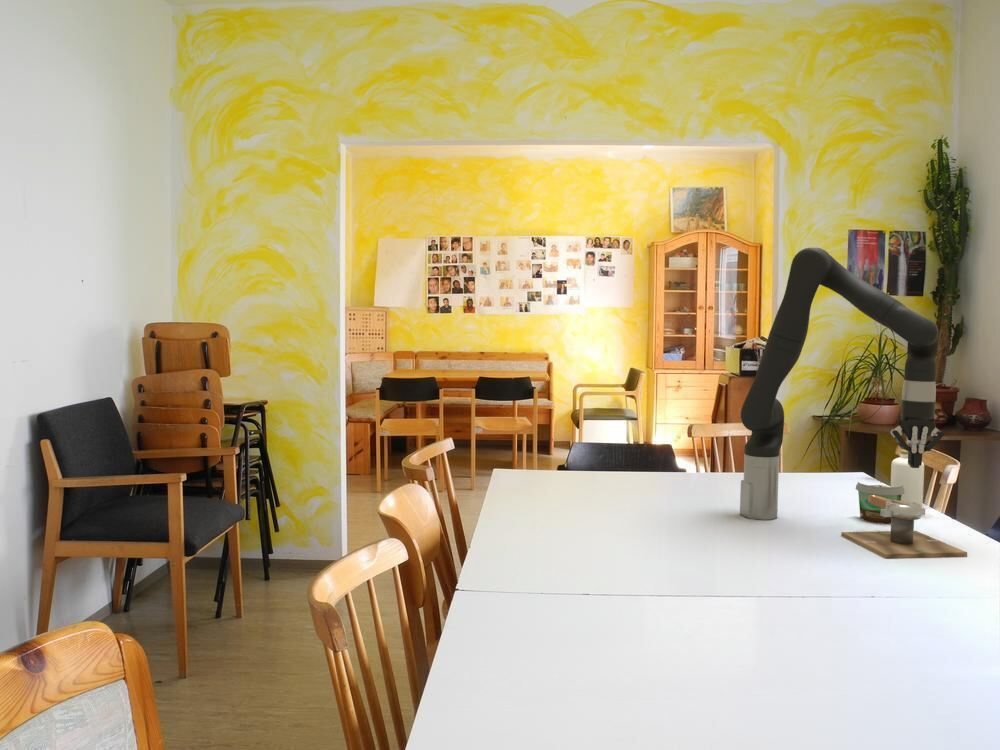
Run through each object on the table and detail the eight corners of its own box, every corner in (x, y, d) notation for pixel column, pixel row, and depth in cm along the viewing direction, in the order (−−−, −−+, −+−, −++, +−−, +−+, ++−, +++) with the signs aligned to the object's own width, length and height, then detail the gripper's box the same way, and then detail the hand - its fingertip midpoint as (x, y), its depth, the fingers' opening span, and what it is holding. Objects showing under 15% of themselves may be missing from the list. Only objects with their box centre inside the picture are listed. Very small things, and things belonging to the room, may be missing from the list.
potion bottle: (915, 510, 241) (917, 448, 240) (927, 517, 233) (929, 453, 232) (885, 510, 242) (887, 448, 241) (895, 516, 234) (898, 452, 233)
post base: (885, 558, 193) (886, 528, 192) (841, 535, 213) (842, 508, 212) (967, 556, 195) (968, 526, 194) (915, 534, 215) (916, 507, 214)
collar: (934, 518, 201) (934, 505, 201) (893, 520, 198) (893, 507, 198) (889, 504, 216) (889, 491, 216) (850, 506, 214) (851, 493, 214)
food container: (852, 521, 229) (853, 484, 228) (854, 516, 234) (855, 481, 233) (902, 526, 223) (904, 489, 222) (903, 521, 228) (905, 485, 228)
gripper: (897, 399, 206) (893, 469, 207) (953, 401, 205) (948, 471, 206) (885, 396, 213) (881, 464, 214) (938, 397, 212) (934, 465, 214)
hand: (914, 467), depth 210 cm, fingers closed
